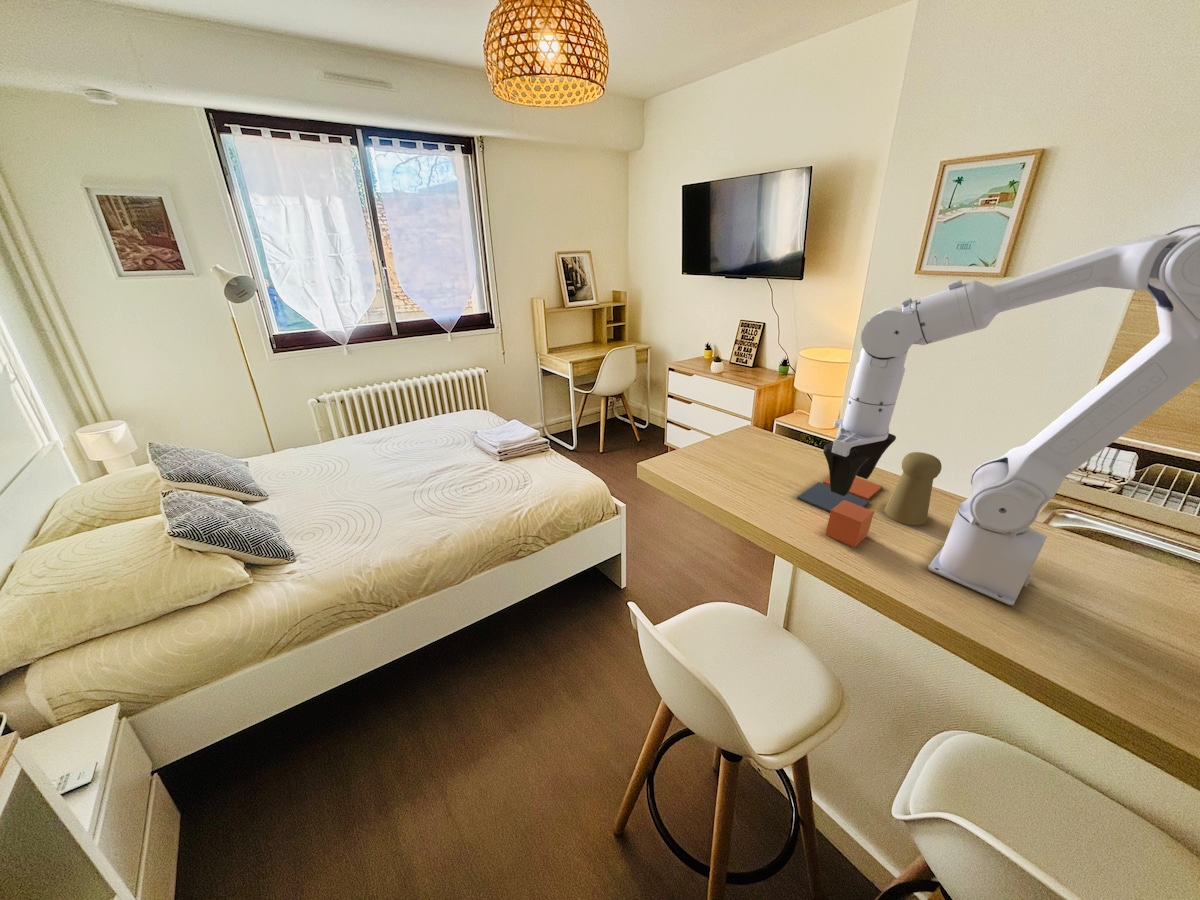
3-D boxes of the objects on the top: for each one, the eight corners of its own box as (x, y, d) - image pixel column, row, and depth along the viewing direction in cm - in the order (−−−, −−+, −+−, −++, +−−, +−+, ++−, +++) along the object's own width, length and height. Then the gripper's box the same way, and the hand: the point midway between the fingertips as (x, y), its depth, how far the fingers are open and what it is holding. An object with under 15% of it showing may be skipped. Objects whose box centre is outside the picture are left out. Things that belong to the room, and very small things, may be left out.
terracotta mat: (882, 488, 85) (882, 486, 85) (867, 500, 82) (868, 498, 81) (838, 472, 91) (838, 470, 91) (822, 483, 87) (823, 481, 87)
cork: (924, 530, 74) (946, 468, 69) (881, 517, 77) (899, 457, 72) (928, 513, 78) (949, 454, 73) (887, 501, 81) (904, 444, 76)
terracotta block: (867, 535, 72) (874, 511, 70) (854, 547, 70) (861, 522, 68) (837, 523, 75) (844, 499, 73) (824, 534, 73) (831, 509, 71)
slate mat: (868, 503, 81) (869, 501, 81) (848, 520, 76) (849, 518, 76) (818, 483, 87) (818, 481, 87) (796, 498, 82) (797, 496, 82)
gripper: (864, 381, 71) (844, 461, 77) (818, 402, 63) (800, 490, 69) (915, 392, 66) (890, 476, 72) (874, 417, 58) (849, 509, 64)
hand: (849, 484), depth 70 cm, fingers open, 7 cm apart
